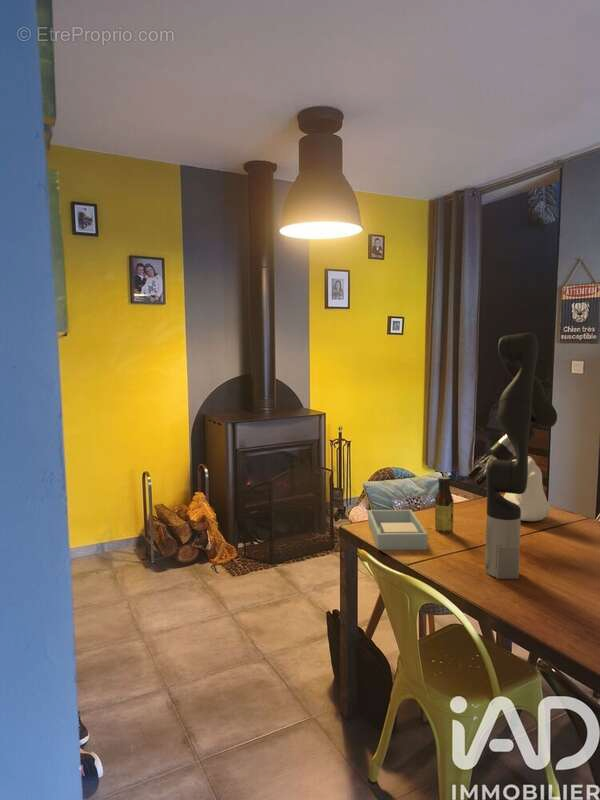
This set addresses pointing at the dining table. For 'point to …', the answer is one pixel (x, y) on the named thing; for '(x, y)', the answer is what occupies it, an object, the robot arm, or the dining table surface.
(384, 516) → the tote
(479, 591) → the dining table surface
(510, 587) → the dining table surface
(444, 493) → the sauce bottle
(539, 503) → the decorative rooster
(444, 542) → the dining table surface
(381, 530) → the tan rectangular block
